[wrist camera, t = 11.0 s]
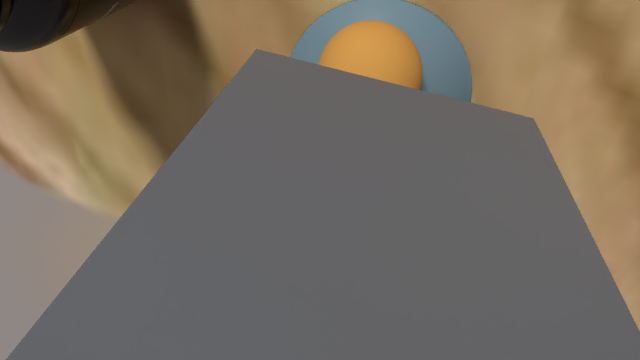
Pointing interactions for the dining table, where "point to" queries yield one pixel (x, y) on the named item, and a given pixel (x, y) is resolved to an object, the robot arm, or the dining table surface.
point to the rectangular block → (344, 238)
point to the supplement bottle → (48, 20)
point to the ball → (375, 53)
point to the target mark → (418, 23)
